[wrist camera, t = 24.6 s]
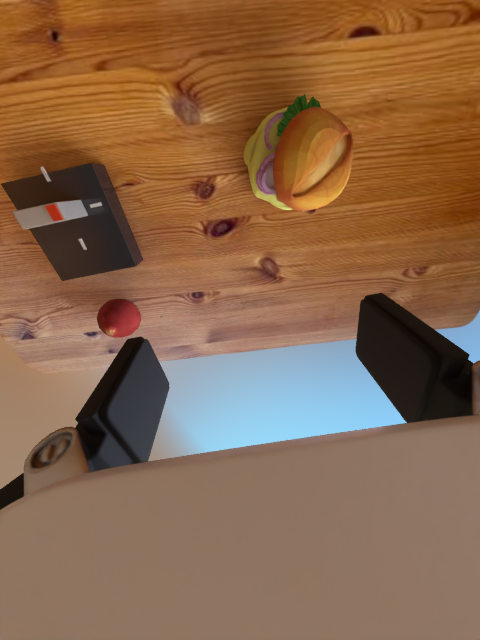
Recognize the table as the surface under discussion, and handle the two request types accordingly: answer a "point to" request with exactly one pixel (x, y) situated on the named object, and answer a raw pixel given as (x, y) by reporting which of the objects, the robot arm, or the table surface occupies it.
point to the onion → (118, 318)
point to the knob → (50, 213)
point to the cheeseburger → (299, 157)
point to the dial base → (79, 221)
